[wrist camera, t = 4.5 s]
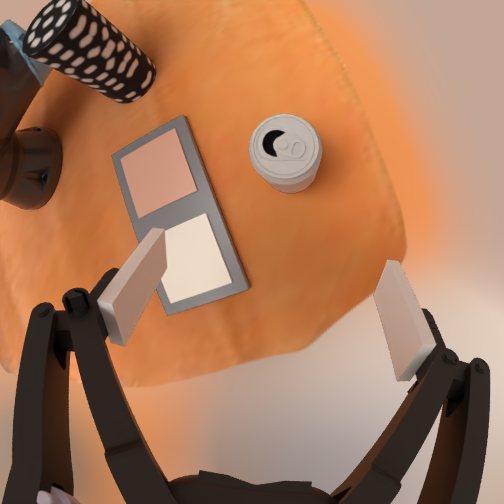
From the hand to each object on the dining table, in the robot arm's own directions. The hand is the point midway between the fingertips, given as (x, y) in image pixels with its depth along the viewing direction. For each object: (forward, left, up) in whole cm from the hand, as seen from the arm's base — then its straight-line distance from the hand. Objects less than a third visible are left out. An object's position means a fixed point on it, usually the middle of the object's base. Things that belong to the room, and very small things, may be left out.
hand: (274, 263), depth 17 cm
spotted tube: (-31, -13, -19) cm, 39 cm away
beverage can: (-8, +3, -20) cm, 21 cm away
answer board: (-8, -13, -19) cm, 24 cm away
